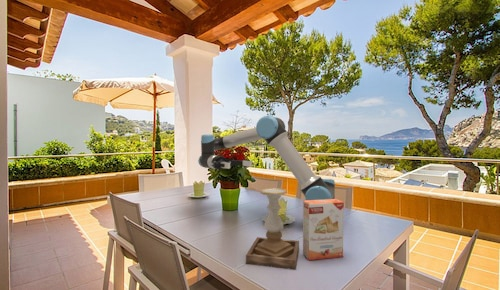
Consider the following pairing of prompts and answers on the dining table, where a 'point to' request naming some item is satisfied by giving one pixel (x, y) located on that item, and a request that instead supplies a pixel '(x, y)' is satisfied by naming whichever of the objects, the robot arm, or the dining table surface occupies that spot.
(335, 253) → the cracker box
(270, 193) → the candle holder
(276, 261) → the tray
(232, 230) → the dining table surface
